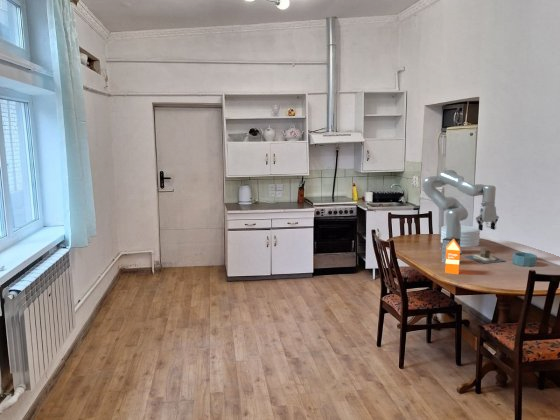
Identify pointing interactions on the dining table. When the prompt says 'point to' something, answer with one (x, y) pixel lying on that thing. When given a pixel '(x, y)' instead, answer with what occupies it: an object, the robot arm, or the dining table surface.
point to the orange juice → (452, 258)
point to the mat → (485, 261)
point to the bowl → (524, 259)
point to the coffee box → (446, 243)
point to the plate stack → (465, 236)
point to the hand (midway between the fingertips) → (486, 229)
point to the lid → (485, 256)
